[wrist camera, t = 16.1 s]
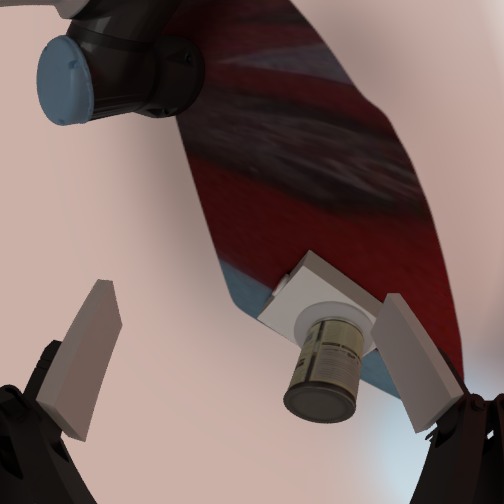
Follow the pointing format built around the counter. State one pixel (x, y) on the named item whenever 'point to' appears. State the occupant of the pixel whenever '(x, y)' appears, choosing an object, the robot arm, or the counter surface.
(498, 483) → the robot arm
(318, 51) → the counter surface
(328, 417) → the coffee can
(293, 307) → the kitchen scale
